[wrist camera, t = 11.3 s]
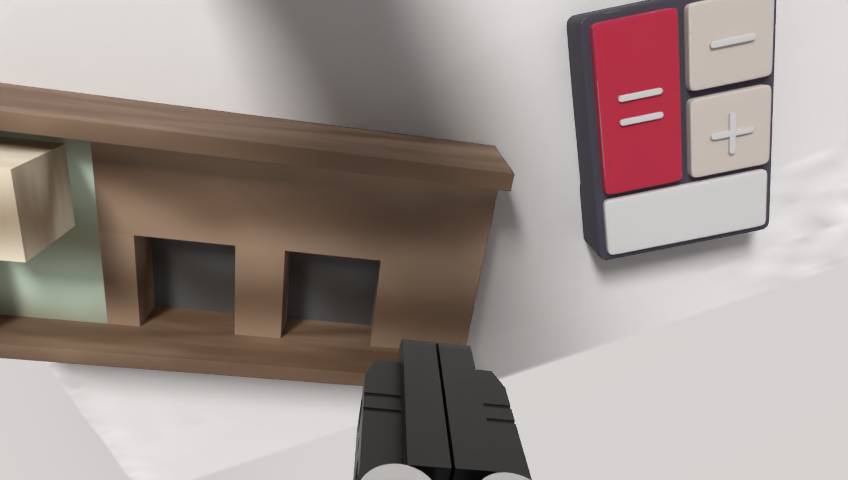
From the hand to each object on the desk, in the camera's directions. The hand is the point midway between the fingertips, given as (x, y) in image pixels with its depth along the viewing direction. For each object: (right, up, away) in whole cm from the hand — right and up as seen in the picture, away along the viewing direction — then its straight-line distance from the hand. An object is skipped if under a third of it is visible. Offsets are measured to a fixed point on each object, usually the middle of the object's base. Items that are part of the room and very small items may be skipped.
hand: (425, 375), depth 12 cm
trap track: (-12, +4, +25) cm, 28 cm away
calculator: (+15, +11, +24) cm, 31 cm away
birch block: (-23, +6, +20) cm, 31 cm away
